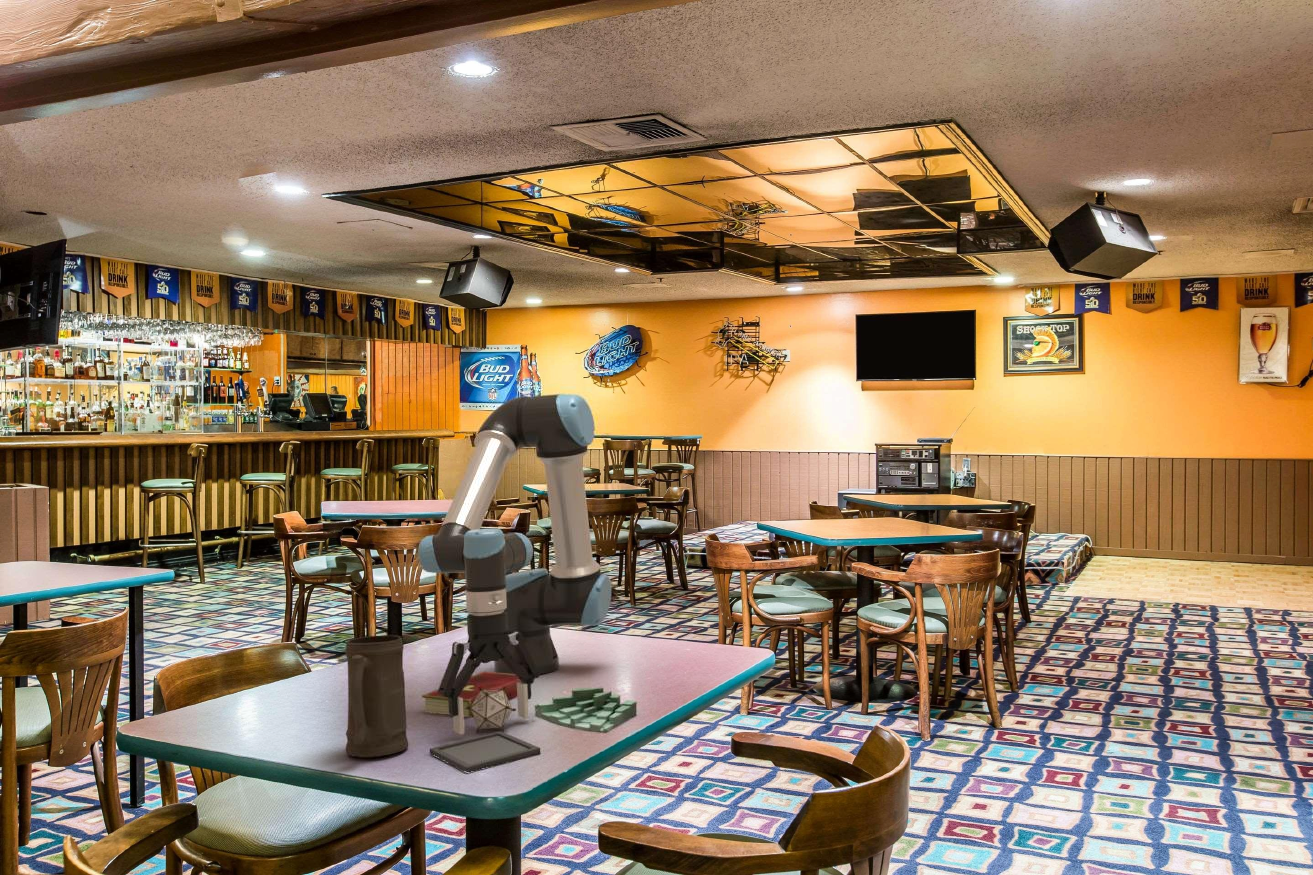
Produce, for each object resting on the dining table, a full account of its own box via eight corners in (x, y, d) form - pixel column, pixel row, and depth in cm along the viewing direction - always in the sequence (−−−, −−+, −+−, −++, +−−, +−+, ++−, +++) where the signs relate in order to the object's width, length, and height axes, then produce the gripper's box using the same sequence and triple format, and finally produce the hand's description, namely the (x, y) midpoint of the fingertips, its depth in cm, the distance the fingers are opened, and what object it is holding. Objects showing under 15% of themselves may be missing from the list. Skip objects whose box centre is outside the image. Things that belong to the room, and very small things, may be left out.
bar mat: (429, 754, 174) (429, 748, 174) (500, 736, 183) (500, 730, 183) (467, 773, 163) (466, 767, 163) (540, 753, 172) (540, 747, 172)
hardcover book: (530, 693, 215) (529, 674, 215) (470, 720, 196) (469, 698, 196) (485, 689, 220) (484, 670, 220) (422, 714, 201) (421, 693, 201)
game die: (501, 746, 189) (530, 700, 191) (489, 743, 181) (520, 695, 183) (463, 721, 191) (492, 675, 194) (450, 717, 183) (481, 670, 186)
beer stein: (353, 743, 182) (349, 634, 182) (413, 739, 183) (408, 630, 183) (333, 771, 167) (328, 652, 167) (399, 766, 168) (393, 648, 168)
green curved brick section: (647, 711, 197) (646, 687, 197) (606, 735, 182) (605, 708, 182) (561, 703, 206) (560, 679, 206) (515, 725, 191) (514, 700, 191)
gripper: (434, 624, 177) (439, 743, 177) (554, 604, 192) (558, 714, 192) (416, 619, 182) (421, 734, 183) (533, 600, 198) (538, 707, 198)
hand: (492, 724), depth 187 cm, fingers open, 13 cm apart
